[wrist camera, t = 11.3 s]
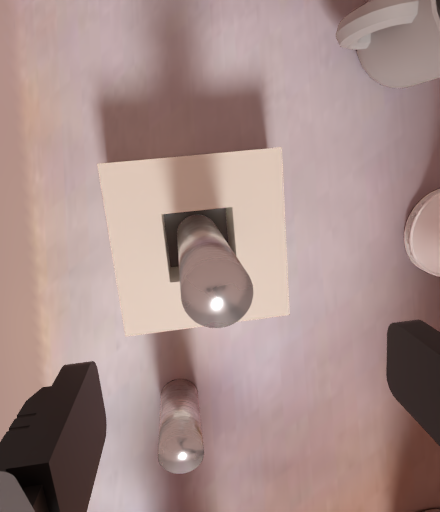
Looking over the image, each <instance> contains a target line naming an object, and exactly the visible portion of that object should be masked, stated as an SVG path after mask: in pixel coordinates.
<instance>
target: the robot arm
mask: <svg viewBox="0 0 440 512" xmlns="http://www.w3.org/2000/svg"><path fill="white" fill-rule="evenodd" d="M387 382H388V385H389V388H390V390H391V392H392V394H393V396H394V397H395V398H396V399H397V401H398V402H399V403H400V404H401V405H402V406H403V407H404V408H405V409H406V410H407V411H408V412H409V413H410V415H411V416H412V417H413V418H414V419H415V420H416V421H417V422H418V423H419V424H420V425H421V426H422V427H423V429H424V430H425V431H426V432H427V433H428V434H429V435H430V436H431V437H432V438H433V439H434V440H435V441H436V443H437V444H438V445H439V446H440V332H438V331H437V330H435V329H434V328H432V327H431V326H429V325H428V324H426V323H425V322H423V321H421V320H412V321H404V322H397V323H392V324H390V325H389V327H388V332H387ZM105 437H106V414H105V408H104V402H103V397H102V391H101V386H100V380H99V375H98V370H97V366H96V364H95V362H94V361H92V362H84V363H76V364H68V365H64V366H63V367H62V368H61V370H60V372H59V374H58V376H57V377H56V379H55V381H54V383H53V385H52V386H50V387H43V388H41V389H40V390H39V391H38V392H37V393H35V394H34V395H33V396H32V397H30V398H29V399H28V400H27V401H26V402H25V404H24V405H23V407H22V409H21V410H20V412H19V413H18V415H17V419H15V420H14V421H13V423H12V424H11V426H10V428H9V431H8V432H6V434H5V436H4V437H3V439H2V440H1V442H0V512H87V508H88V504H89V501H90V497H91V493H92V489H93V485H94V481H95V477H96V473H97V469H98V465H99V462H100V458H101V454H102V450H103V446H104V442H105ZM424 512H440V509H433V510H427V511H424Z"/></svg>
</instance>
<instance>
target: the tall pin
mask: <svg viewBox="0 0 440 512" xmlns="http://www.w3.org/2000/svg"><path fill="white" fill-rule="evenodd" d="M177 244H178V259H179V275H180V290H181V301H182V305H183V308H184V310H185V312H186V313H187V314H188V316H189V317H190V318H191V319H192V320H193V321H195V322H196V323H198V324H200V325H202V326H205V327H210V328H222V327H226V326H229V325H232V324H234V323H235V322H237V321H239V320H240V319H241V318H242V317H243V316H244V315H245V314H246V313H247V311H248V309H249V308H250V306H251V303H252V300H253V284H252V281H251V279H250V277H249V275H248V273H247V272H246V270H245V269H244V267H243V266H242V264H241V263H240V261H239V260H238V258H237V257H236V255H235V254H234V252H233V251H232V249H231V248H230V246H229V245H228V243H227V242H226V240H225V239H224V237H223V236H222V234H221V233H220V231H219V230H218V228H217V227H216V225H215V224H214V222H213V221H212V220H211V219H210V218H208V217H206V216H204V215H198V214H197V215H191V216H189V217H187V218H185V219H184V220H183V221H182V222H181V223H180V225H179V227H178V230H177Z"/></svg>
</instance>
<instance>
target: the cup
mask: <svg viewBox="0 0 440 512" xmlns="http://www.w3.org/2000/svg"><path fill="white" fill-rule="evenodd" d="M336 39H337V41H338V43H339V45H340V47H343V48H347V49H352V50H355V49H357V55H358V58H359V60H360V62H361V65H362V67H363V69H364V70H365V71H366V72H367V74H368V75H369V76H370V78H372V79H373V80H375V81H376V82H377V83H379V84H380V85H383V86H387V87H390V88H406V87H411V86H414V85H418V84H421V83H424V82H427V81H431V80H434V79H437V78H440V0H369V1H368V2H367V3H366V4H364V5H362V6H361V7H359V8H358V9H356V10H354V11H353V12H351V13H350V14H348V15H347V16H346V17H345V18H343V19H342V21H341V22H340V23H339V25H338V29H337V32H336Z"/></svg>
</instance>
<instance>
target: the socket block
mask: <svg viewBox="0 0 440 512" xmlns="http://www.w3.org/2000/svg"><path fill="white" fill-rule="evenodd" d="M97 166H98V172H99V178H100V184H101V190H102V197H103V203H104V209H105V215H106V221H107V227H108V233H109V239H110V245H111V252H112V258H113V264H114V270H115V276H116V282H117V288H118V294H119V300H120V307H121V313H122V319H123V325H124V331H125V337H127V336H134V335H142V334H149V333H157V332H165V331H172V330H180V329H187V328H195V327H203V326H202V325H200V324H198V323H196V322H195V321H193V320H192V319H191V318H190V317H189V316H188V314H187V313H186V312H185V310H184V308H183V305H182V301H181V290H180V275H179V266H177V267H170V260H169V252H168V244H167V236H166V228H165V220H164V214H169V213H179V212H188V211H198V210H208V209H217V208H225V209H226V220H227V232H228V244H229V246H230V248H231V249H232V251H233V252H234V254H235V255H236V257H237V258H238V260H239V261H240V263H241V264H242V266H243V267H244V269H245V270H246V272H247V273H248V275H249V277H250V279H251V281H252V284H253V300H252V303H251V306H250V308H249V309H248V311H247V313H246V314H245V315H244V316H243V317H242V318H241V319H240V320H239V321H237V322H240V321H248V320H256V319H263V318H271V317H278V316H286V315H290V314H289V292H288V271H287V249H286V228H285V206H284V185H283V163H282V147H278V148H267V149H256V150H245V151H234V152H223V153H212V154H201V155H190V156H179V157H168V158H157V159H146V160H135V161H124V162H113V163H102V164H97Z"/></svg>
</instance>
